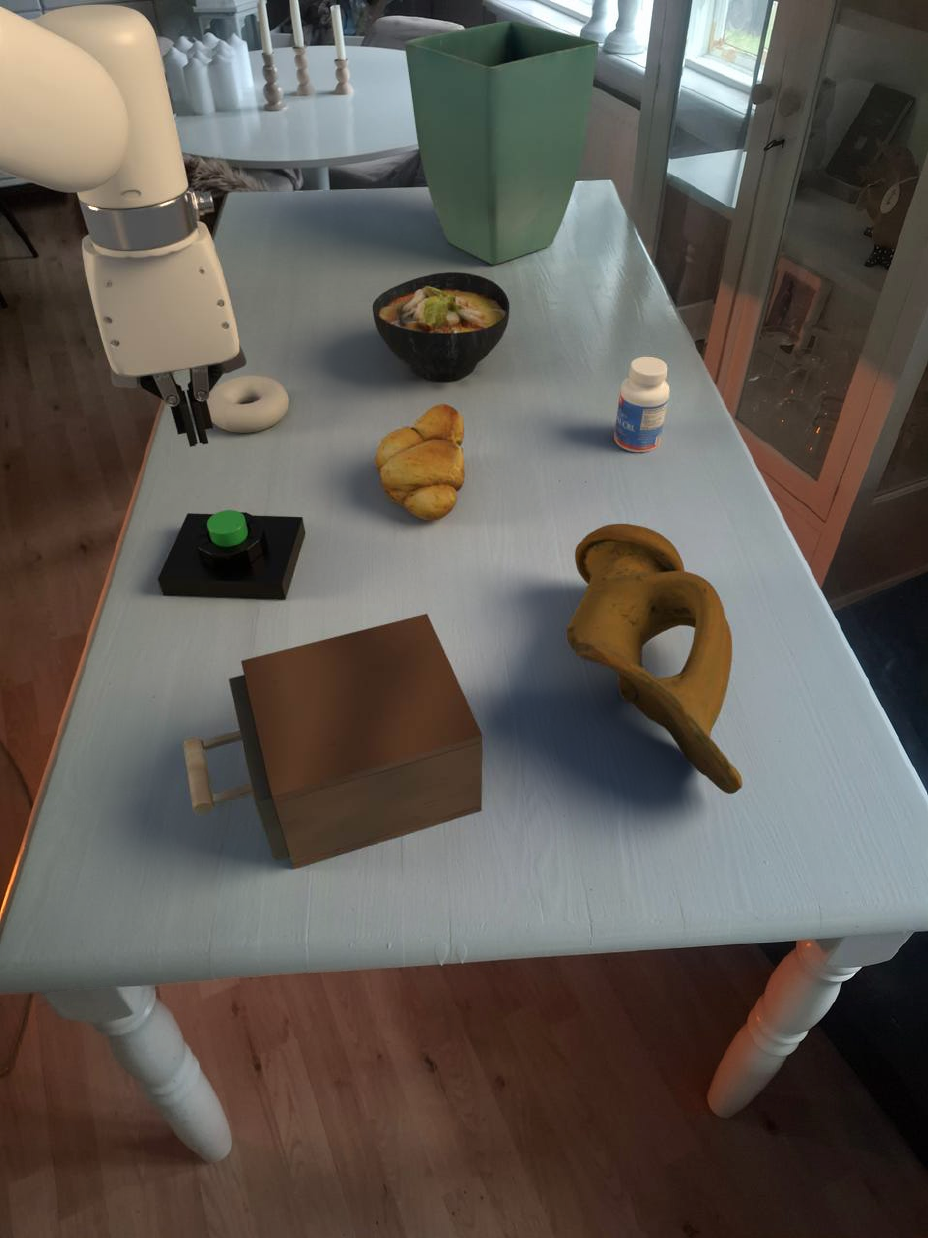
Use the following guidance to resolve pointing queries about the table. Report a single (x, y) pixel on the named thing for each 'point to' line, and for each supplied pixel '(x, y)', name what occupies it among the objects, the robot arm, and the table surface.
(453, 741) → the cabinet
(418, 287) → the bowl
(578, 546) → the brown looped sculpture
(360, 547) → the table surface
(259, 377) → the donut
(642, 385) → the pill bottle
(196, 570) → the block
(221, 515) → the button
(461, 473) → the bread roll
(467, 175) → the flower pot
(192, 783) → the drawer
